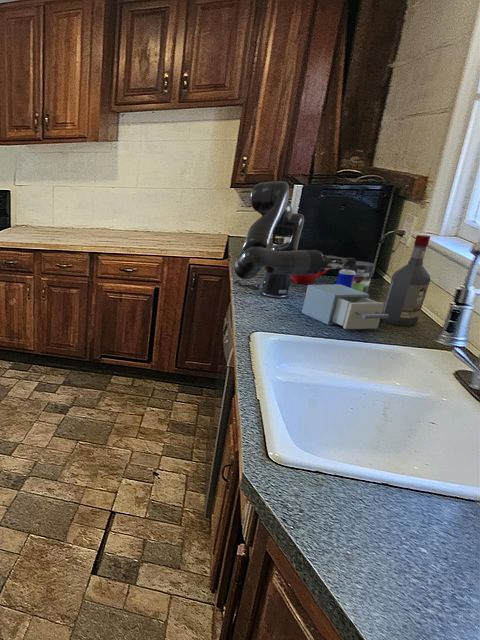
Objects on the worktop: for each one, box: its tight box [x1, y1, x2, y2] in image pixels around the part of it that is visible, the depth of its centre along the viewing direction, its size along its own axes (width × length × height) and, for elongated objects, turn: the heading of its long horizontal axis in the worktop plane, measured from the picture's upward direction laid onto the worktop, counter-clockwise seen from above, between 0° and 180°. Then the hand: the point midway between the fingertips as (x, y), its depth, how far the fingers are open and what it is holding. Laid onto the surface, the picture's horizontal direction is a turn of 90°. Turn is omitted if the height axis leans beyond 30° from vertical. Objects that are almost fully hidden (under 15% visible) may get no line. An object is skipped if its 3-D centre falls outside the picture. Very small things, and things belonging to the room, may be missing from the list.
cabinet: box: [301, 283, 370, 326], centre depth 188 cm, size 15×13×11 cm
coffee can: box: [345, 260, 376, 294], centre depth 216 cm, size 10×10×14 cm
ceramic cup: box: [291, 269, 329, 285], centre depth 239 cm, size 13×17×10 cm
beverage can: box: [335, 269, 355, 288], centre depth 197 cm, size 5×5×15 cm
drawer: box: [331, 297, 389, 330], centre depth 178 cm, size 18×11×9 cm, turn 5°
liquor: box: [380, 234, 431, 327], centre depth 181 cm, size 9×9×30 cm
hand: (354, 261), depth 164 cm, fingers closed
